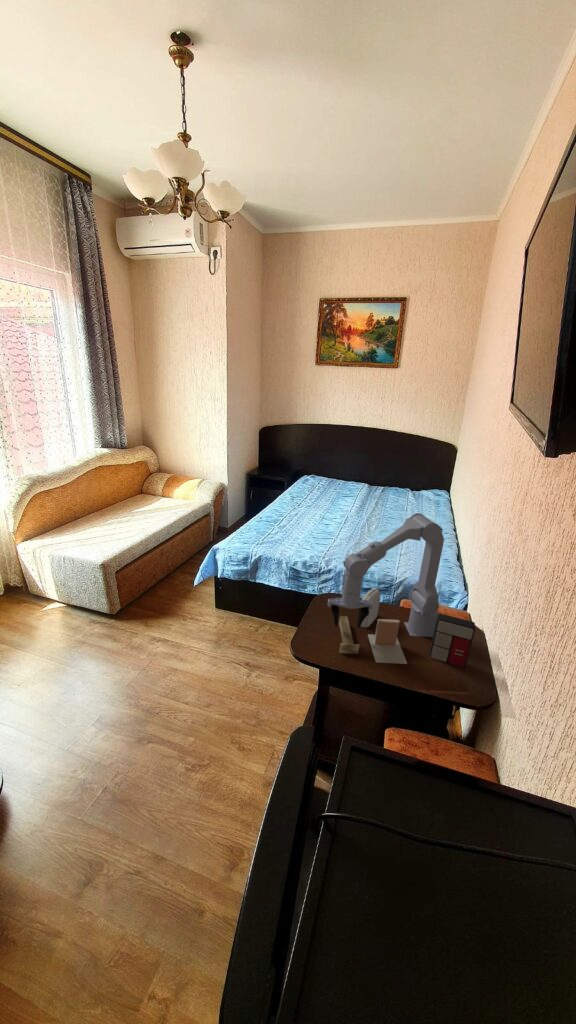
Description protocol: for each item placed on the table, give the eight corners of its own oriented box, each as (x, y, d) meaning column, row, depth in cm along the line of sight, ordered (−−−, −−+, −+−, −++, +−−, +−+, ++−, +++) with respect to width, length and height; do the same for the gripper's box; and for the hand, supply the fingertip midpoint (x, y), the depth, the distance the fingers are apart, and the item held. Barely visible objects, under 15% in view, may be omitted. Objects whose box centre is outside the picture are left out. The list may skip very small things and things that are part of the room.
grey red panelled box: (428, 659, 131) (437, 620, 126) (429, 651, 135) (438, 612, 130) (465, 669, 128) (475, 629, 122) (464, 661, 131) (475, 622, 126)
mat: (395, 637, 141) (396, 635, 141) (407, 665, 128) (407, 663, 127) (367, 635, 141) (367, 634, 140) (375, 663, 127) (375, 662, 127)
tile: (394, 642, 137) (398, 620, 134) (395, 645, 136) (399, 622, 132) (374, 641, 137) (377, 618, 134) (374, 644, 135) (378, 621, 132)
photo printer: (366, 630, 143) (371, 600, 139) (355, 625, 146) (360, 596, 141) (378, 617, 151) (383, 588, 147) (367, 613, 154) (372, 584, 149)
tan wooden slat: (350, 626, 145) (352, 616, 144) (357, 655, 131) (359, 645, 129) (334, 625, 145) (335, 615, 144) (339, 654, 130) (340, 644, 129)
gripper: (371, 584, 135) (366, 619, 140) (328, 582, 135) (324, 616, 140) (376, 596, 129) (370, 632, 133) (330, 593, 128) (326, 629, 133)
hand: (347, 625), depth 136 cm, fingers open, 7 cm apart
